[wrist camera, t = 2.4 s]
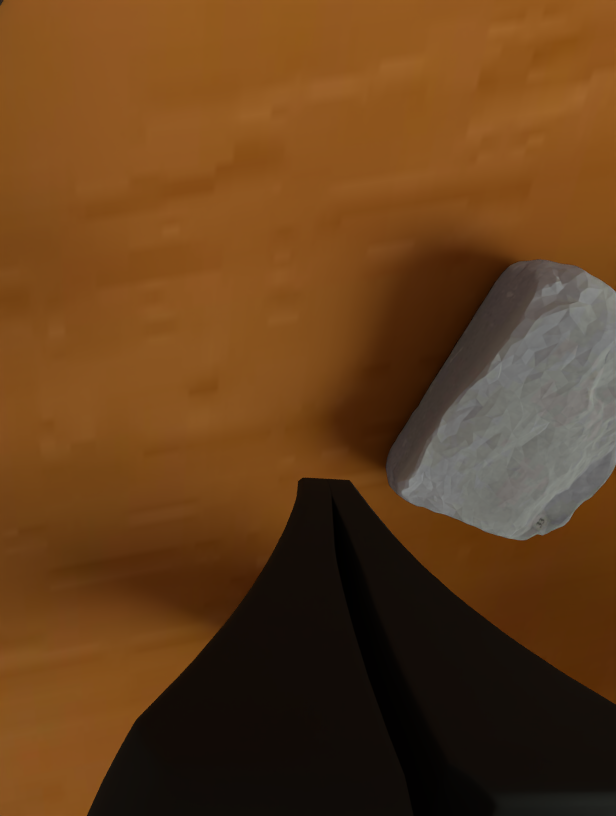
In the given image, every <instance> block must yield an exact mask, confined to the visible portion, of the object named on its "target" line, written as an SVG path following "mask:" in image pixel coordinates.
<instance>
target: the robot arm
mask: <svg viewBox="0 0 616 816" xmlns="http://www.w3.org/2000/svg"><path fill="white" fill-rule="evenodd" d="M87 816H616V704H614V703H612V702H611V701H609V700H607V699H606V698H604V697H602V696H601V695H599V694H597V693H596V692H594V691H592V690H591V689H589V688H587V687H586V686H584V685H582V684H581V683H579V682H577V681H576V680H574V679H572V678H570V677H569V676H567V675H566V674H564V673H563V672H561V671H560V670H558V669H557V668H555V667H554V666H552V665H551V664H549V663H548V662H546V661H545V660H543V659H542V658H540V657H539V656H537V655H536V654H534V653H533V652H531V651H530V650H528V649H527V648H525V647H524V646H522V645H521V644H519V643H518V642H516V641H515V640H514V639H512V638H511V637H509V636H508V635H507V634H505V633H504V632H502V631H501V630H500V629H498V628H497V627H496V626H494V625H493V624H492V623H490V622H489V621H488V620H487V619H485V618H484V617H483V616H481V615H480V614H479V613H477V612H476V611H475V610H474V609H472V608H471V607H470V606H468V605H467V604H466V603H465V602H463V601H462V600H461V599H460V598H459V597H457V596H456V595H455V594H454V593H453V592H451V591H450V590H449V589H448V588H447V587H446V586H445V585H444V584H442V583H441V582H440V581H439V580H438V579H437V578H436V577H435V576H433V575H432V574H431V573H430V572H429V571H428V570H427V569H426V568H425V567H424V566H423V565H422V564H421V563H420V562H419V561H418V560H417V559H416V558H415V557H414V556H413V555H412V554H411V553H410V552H409V551H408V550H407V549H406V548H405V547H404V546H403V545H402V544H401V543H400V542H399V541H398V539H397V538H396V537H395V536H394V535H393V534H392V533H391V531H390V530H389V529H388V528H387V527H386V526H385V524H384V523H383V522H382V521H381V520H380V519H379V517H378V516H377V515H376V514H375V512H374V511H373V510H372V509H371V507H370V506H369V505H368V504H367V502H366V501H365V500H364V498H363V497H362V496H361V494H360V493H359V492H358V490H357V489H356V488H355V487H354V485H353V484H352V483H351V482H350V480H337V479H318V478H302V479H301V480H299V481H298V489H297V497H296V501H295V504H294V507H293V510H292V512H291V515H290V517H289V520H288V522H287V525H286V527H285V529H284V532H283V534H282V536H281V538H280V539H279V541H278V543H277V545H276V547H275V549H274V551H273V553H272V555H271V557H270V558H269V560H268V562H267V564H266V565H265V567H264V569H263V570H262V572H261V573H260V575H259V577H258V578H257V580H256V581H255V583H254V584H253V586H252V587H251V589H250V590H249V592H248V593H247V594H246V596H245V597H244V599H243V600H242V601H241V603H240V604H239V606H238V607H237V608H236V610H235V611H234V612H233V614H232V615H231V616H230V618H229V619H228V620H227V621H226V623H225V624H224V625H223V626H222V628H221V629H220V630H219V631H218V632H217V633H216V635H215V636H214V637H213V638H212V639H211V641H210V642H209V643H208V644H207V645H206V646H205V648H204V649H203V650H202V651H201V652H200V653H199V655H198V656H197V657H196V658H195V659H194V660H193V662H192V663H191V664H190V665H189V666H188V667H187V668H186V669H185V670H184V671H183V672H182V673H181V674H180V676H179V677H178V678H177V679H176V680H175V681H174V682H173V683H172V684H171V685H170V686H169V687H168V688H167V689H166V690H165V691H164V692H163V693H162V694H161V695H160V696H159V697H158V698H157V699H156V700H155V701H154V702H153V703H152V704H151V705H150V706H149V707H148V708H147V709H146V710H145V711H144V712H143V713H142V714H141V715H140V716H139V717H138V719H137V720H136V721H135V723H134V724H133V726H132V728H131V730H130V731H129V733H128V735H127V737H126V738H125V740H124V742H123V744H122V746H121V747H120V749H119V751H118V753H117V755H116V756H115V758H114V760H113V762H112V764H111V766H110V768H109V770H108V772H107V774H106V776H105V778H104V780H103V782H102V784H101V786H100V788H99V790H98V792H97V795H96V797H95V799H94V801H93V803H92V806H91V808H90V810H89V812H88V815H87Z"/></svg>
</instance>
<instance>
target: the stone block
mask: <svg viewBox="0 0 616 816" xmlns="http://www.w3.org/2000/svg"><path fill="white" fill-rule="evenodd" d="M615 465H616V292H615V291H614V290H613V289H612V288H611V287H610V286H608V285H607V284H605V283H604V282H603V281H601V280H600V279H598V278H596V277H594V276H592V275H590V274H589V273H587V272H586V271H584V270H583V269H581V268H579V267H577V266H574V265H567V264H560V263H556V262H552V261H547V260H532V261H520V262H517V263H514V264H512V265H510V266H509V267H508V268H507V269H506V270H505V271H504V272H503V273H502V274H501V276H500V277H499V278H498V279H497V281H496V282H495V284H494V285H493V287H492V289H491V290H490V292H489V293H488V295H487V297H486V298H485V300H484V301H483V303H482V304H481V306H480V307H479V309H478V310H477V312H476V314H475V315H474V317H473V318H472V320H471V322H470V323H469V325H468V327H467V328H466V330H465V331H464V333H463V334H462V336H461V338H460V339H459V341H458V342H457V344H456V345H455V347H454V349H453V350H452V352H451V354H450V356H449V357H448V359H447V360H446V362H445V363H444V365H443V366H442V368H441V369H440V371H439V373H438V374H437V376H436V378H435V379H434V380H433V382H432V383H431V385H430V387H429V388H428V390H427V392H426V393H425V395H424V397H423V399H422V400H421V402H420V404H419V406H418V407H417V408H416V410H415V411H414V412H413V413H412V415H411V417H410V418H409V420H408V422H407V423H406V425H405V426H404V428H403V430H402V431H401V433H400V434H399V435H398V437H397V439H396V441H395V442H394V444H393V445H392V447H391V449H390V451H389V454H388V457H387V463H386V471H387V477H388V483H389V485H390V487H391V488H392V489H393V490H394V491H395V492H396V493H397V494H398V495H399V496H400V497H402V498H403V499H405V500H406V501H408V502H410V503H412V504H414V505H416V506H421V507H425V508H428V509H430V510H432V511H433V512H437V513H441V514H446V515H448V516H450V517H452V518H455V519H458V520H460V521H462V522H465V523H467V524H470V525H473V526H475V527H477V528H479V529H482V530H483V531H485V532H488V533H491V534H495V535H498V536H502V537H505V538H509V539H516V540H527V539H529V538H531V537H533V536H534V535H536V534H539V535H544V534H547V533H549V532H550V531H552V530H555V529H557V528H559V527H562V526H564V525H565V524H566V523H567V522H568V521H569V520H570V518H571V516H572V515H573V513H574V511H575V510H576V509H577V508H578V507H579V506H580V505H581V504H582V503H583V502H584V501H586V500H588V499H589V498H591V497H592V496H593V495H594V494H595V493H596V492H597V491H598V489H599V488H600V487H601V486H602V485H603V484H604V483H605V482H606V480H607V479H608V477H609V476H610V475H611V473H612V471H613V469H614V467H615Z"/></svg>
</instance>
